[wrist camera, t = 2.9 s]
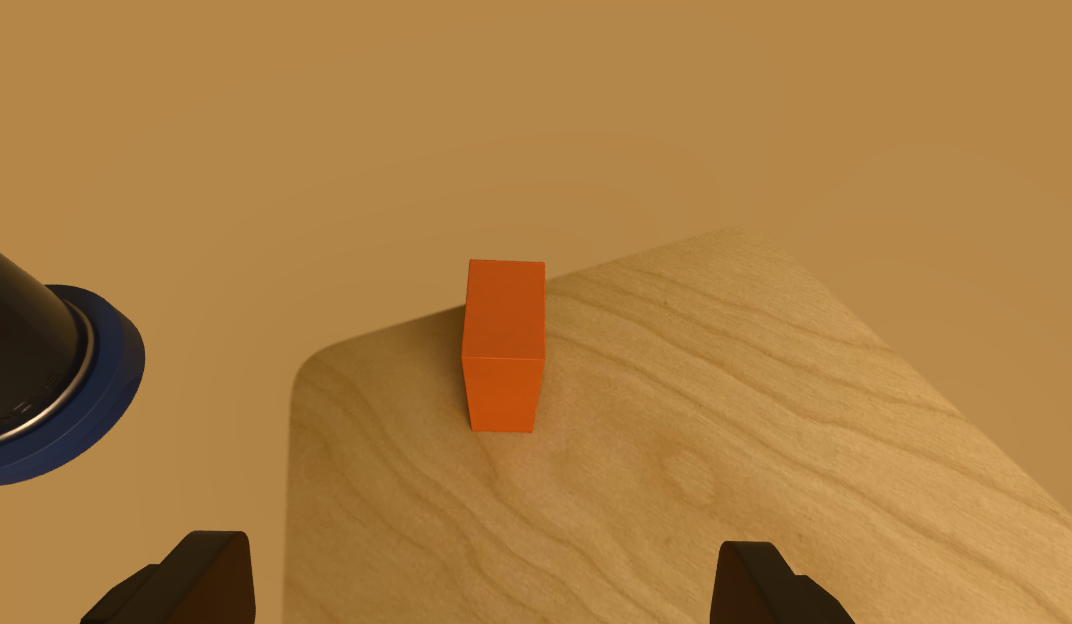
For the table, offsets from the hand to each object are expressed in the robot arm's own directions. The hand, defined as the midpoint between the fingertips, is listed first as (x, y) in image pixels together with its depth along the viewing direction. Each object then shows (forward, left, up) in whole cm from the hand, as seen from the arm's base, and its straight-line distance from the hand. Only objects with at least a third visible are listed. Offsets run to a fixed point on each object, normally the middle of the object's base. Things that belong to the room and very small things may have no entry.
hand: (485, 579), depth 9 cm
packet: (-7, +9, -20) cm, 23 cm away
